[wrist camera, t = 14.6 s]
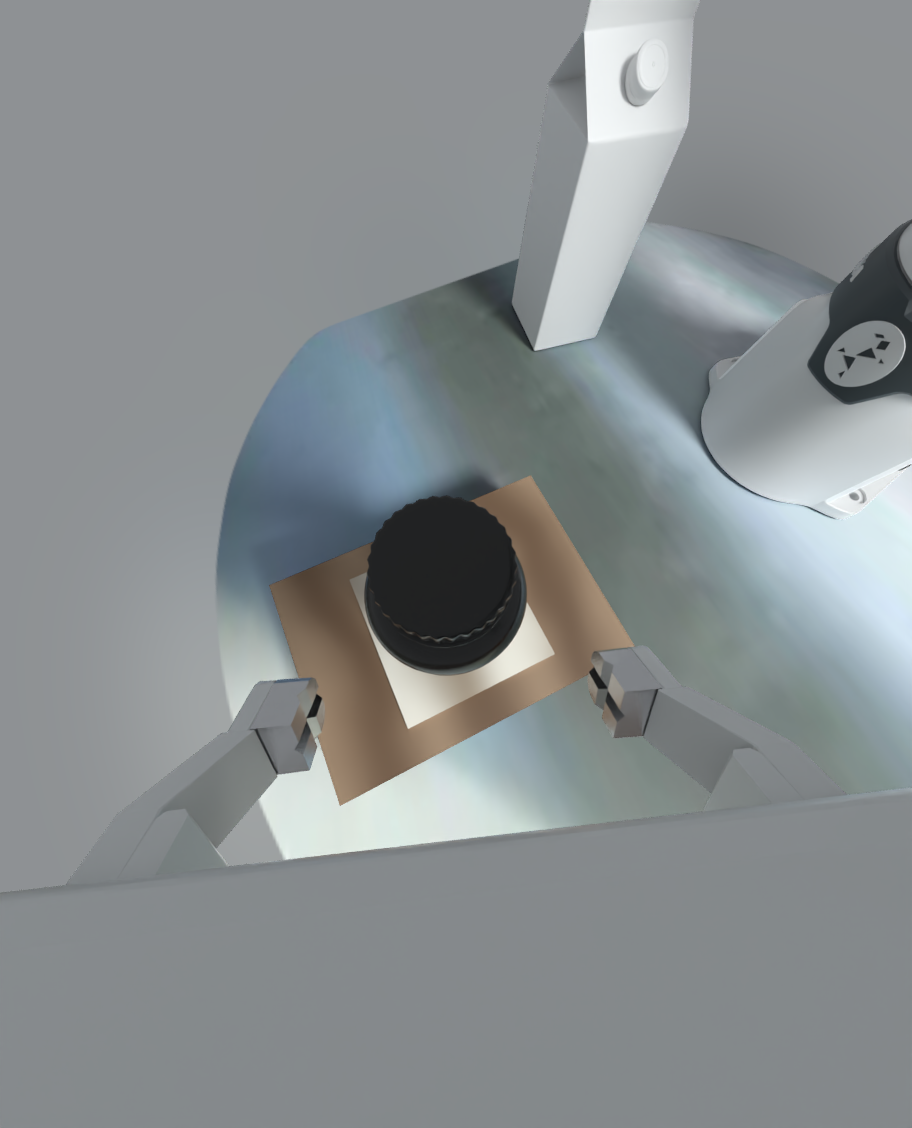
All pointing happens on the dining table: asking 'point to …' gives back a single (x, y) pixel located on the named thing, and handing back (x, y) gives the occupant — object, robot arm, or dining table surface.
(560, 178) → the milk carton
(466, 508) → the supplement bottle
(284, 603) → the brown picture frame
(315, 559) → the dining table surface
